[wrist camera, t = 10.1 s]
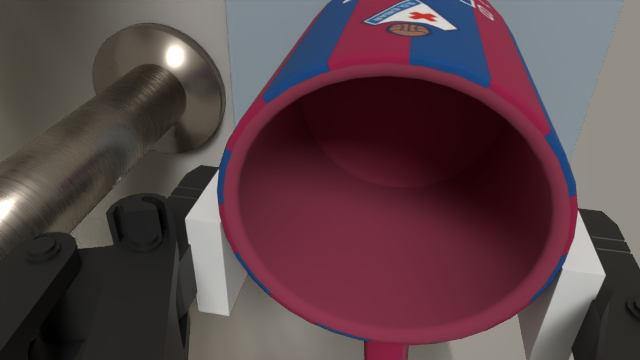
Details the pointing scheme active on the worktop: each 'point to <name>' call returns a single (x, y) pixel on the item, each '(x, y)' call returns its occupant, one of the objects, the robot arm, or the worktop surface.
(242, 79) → the mat
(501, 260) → the mug
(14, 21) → the worktop surface
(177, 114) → the rail
